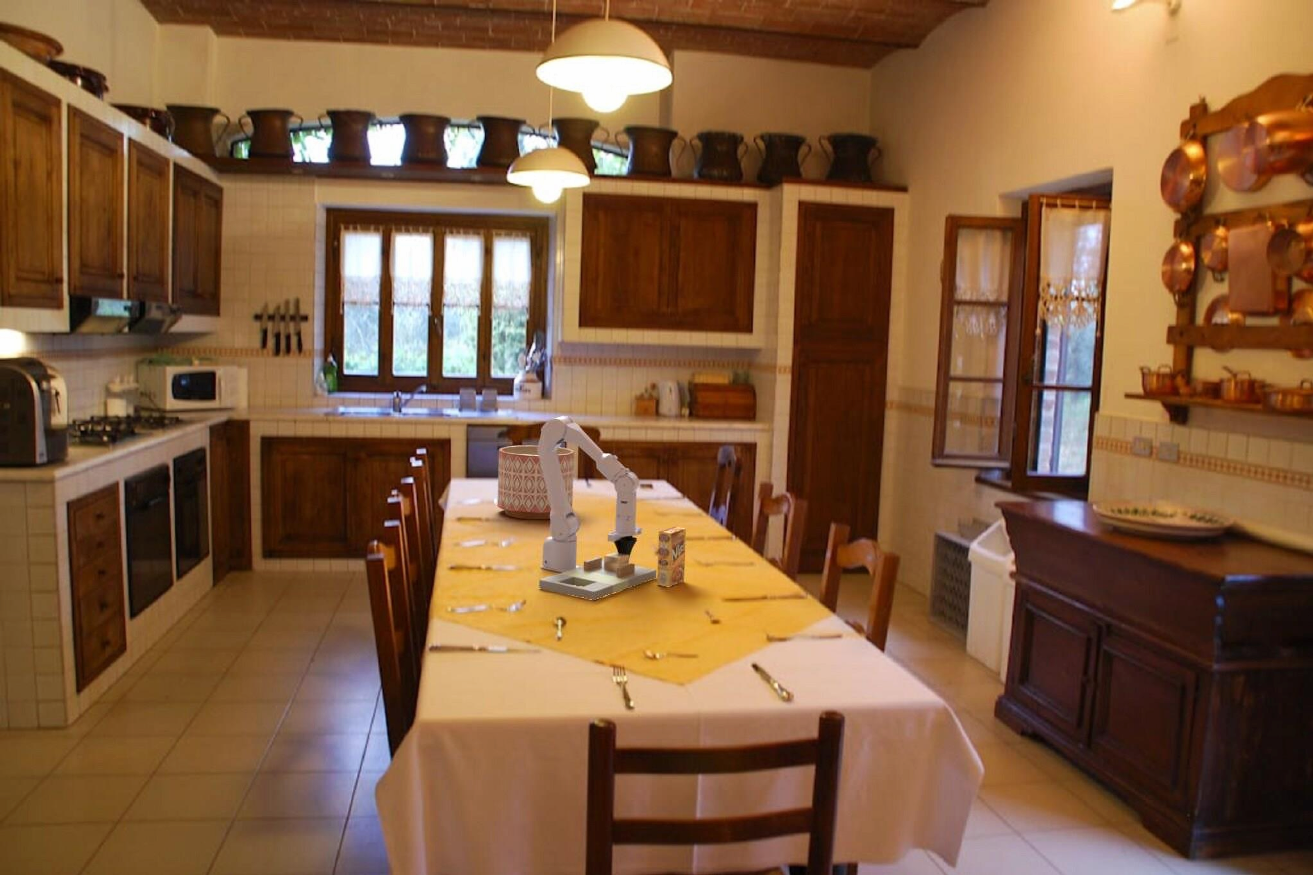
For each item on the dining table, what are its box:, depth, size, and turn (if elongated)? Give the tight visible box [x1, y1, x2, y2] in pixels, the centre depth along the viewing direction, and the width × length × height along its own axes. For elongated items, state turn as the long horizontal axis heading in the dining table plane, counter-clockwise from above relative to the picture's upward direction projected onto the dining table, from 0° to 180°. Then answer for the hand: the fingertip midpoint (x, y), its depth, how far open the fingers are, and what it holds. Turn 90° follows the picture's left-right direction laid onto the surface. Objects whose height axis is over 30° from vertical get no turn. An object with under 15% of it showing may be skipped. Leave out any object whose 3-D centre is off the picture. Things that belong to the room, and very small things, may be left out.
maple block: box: [603, 551, 630, 572], centre depth 279 cm, size 5×5×4 cm
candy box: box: [656, 526, 687, 587], centre depth 275 cm, size 9×4×15 cm, turn 150°
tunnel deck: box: [538, 556, 657, 600], centre depth 272 cm, size 18×30×5 cm, turn 148°
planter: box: [497, 444, 575, 520], centre depth 365 cm, size 27×27×24 cm
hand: (624, 562), depth 282 cm, fingers closed
